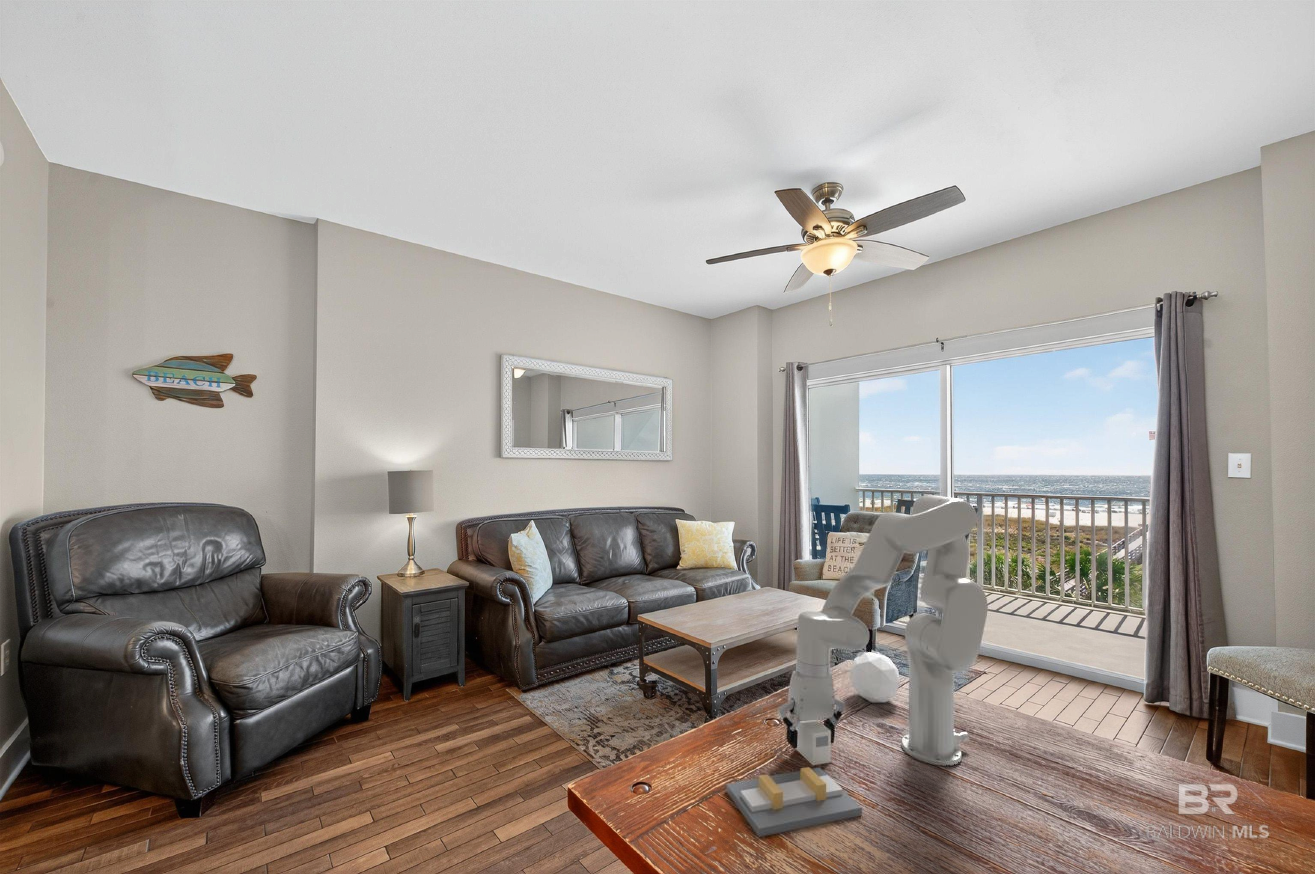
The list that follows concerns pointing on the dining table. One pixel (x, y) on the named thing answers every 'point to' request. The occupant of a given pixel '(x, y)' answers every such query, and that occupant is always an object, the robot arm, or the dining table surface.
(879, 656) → the geodesic sphere
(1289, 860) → the dining table surface
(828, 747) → the block
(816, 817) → the rail board
